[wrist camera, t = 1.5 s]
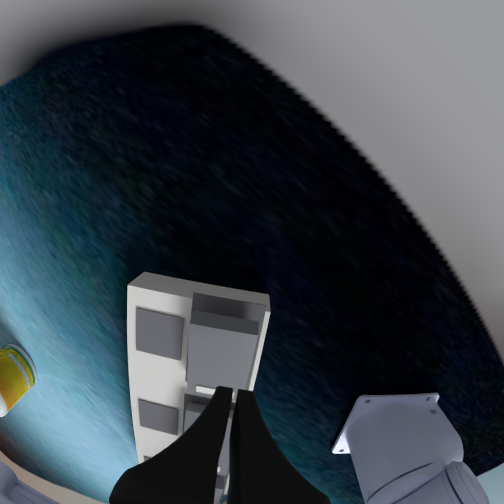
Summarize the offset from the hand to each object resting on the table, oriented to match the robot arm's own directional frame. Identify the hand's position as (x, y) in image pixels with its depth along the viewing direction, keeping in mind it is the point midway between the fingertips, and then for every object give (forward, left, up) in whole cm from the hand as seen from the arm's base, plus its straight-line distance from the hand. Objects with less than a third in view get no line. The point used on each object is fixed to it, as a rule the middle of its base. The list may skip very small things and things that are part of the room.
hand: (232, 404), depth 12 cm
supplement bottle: (+23, +12, -10) cm, 28 cm away
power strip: (+3, +9, -9) cm, 13 cm away
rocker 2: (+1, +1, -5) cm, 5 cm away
